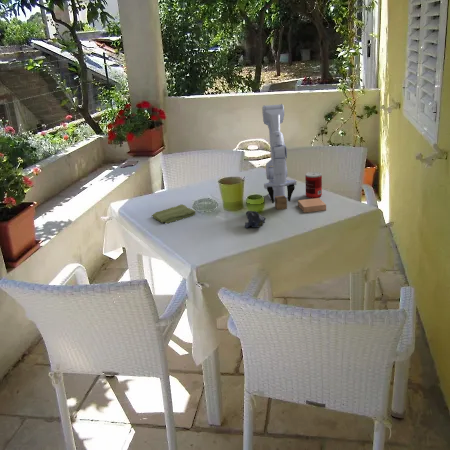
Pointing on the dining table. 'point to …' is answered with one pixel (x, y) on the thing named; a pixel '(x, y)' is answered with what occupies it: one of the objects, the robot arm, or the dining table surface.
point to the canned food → (313, 184)
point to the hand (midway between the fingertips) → (280, 201)
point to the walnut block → (280, 202)
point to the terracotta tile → (311, 205)
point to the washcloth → (174, 214)
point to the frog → (254, 219)
